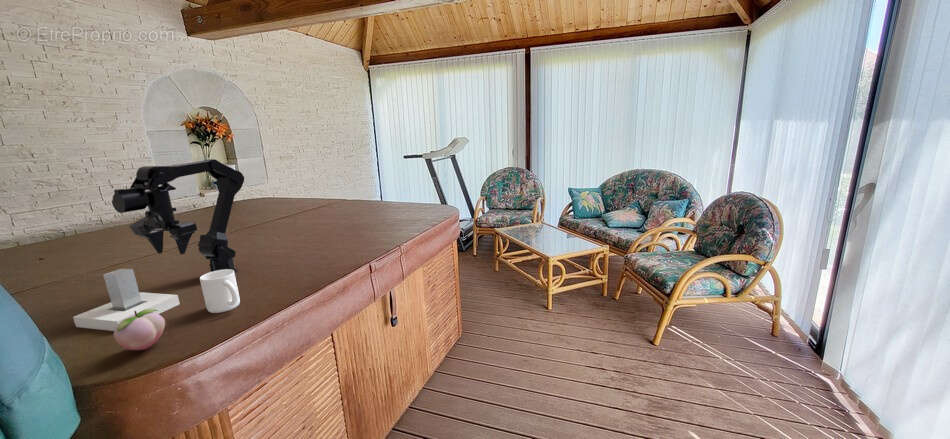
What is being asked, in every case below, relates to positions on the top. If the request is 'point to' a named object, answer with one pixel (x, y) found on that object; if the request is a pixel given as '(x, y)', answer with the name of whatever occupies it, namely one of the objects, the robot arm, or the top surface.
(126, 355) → the top surface
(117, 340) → the decorative fruit
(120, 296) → the grey square peg
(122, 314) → the socket plate
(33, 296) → the top surface
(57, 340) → the top surface
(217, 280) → the mug
